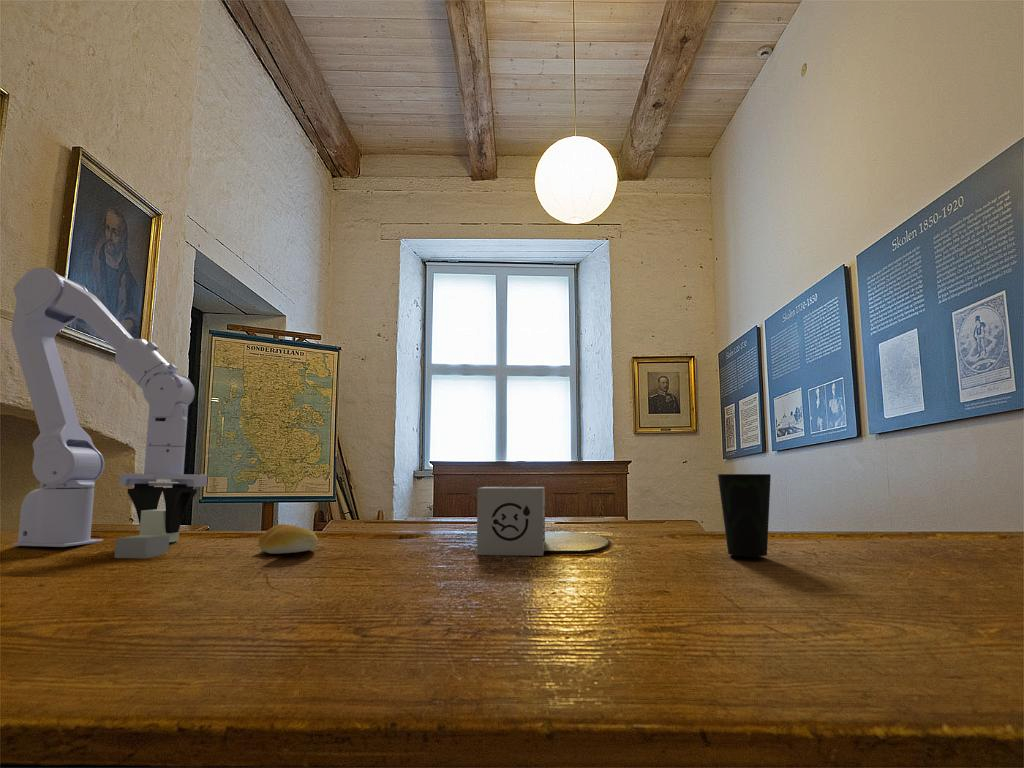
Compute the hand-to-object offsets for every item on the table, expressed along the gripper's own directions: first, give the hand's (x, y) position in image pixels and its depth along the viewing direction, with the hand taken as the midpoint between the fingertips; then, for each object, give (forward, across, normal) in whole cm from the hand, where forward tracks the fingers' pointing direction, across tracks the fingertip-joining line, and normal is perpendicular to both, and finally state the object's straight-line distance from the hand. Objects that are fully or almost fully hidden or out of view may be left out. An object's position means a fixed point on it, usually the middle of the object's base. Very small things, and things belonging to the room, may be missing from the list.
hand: (159, 532), depth 108 cm
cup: (+2, +91, +14) cm, 92 cm away
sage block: (+2, 0, 0) cm, 2 cm away
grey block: (+3, +3, -7) cm, 8 cm away
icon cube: (+3, +55, +11) cm, 56 cm away
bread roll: (+3, +26, 0) cm, 26 cm away
